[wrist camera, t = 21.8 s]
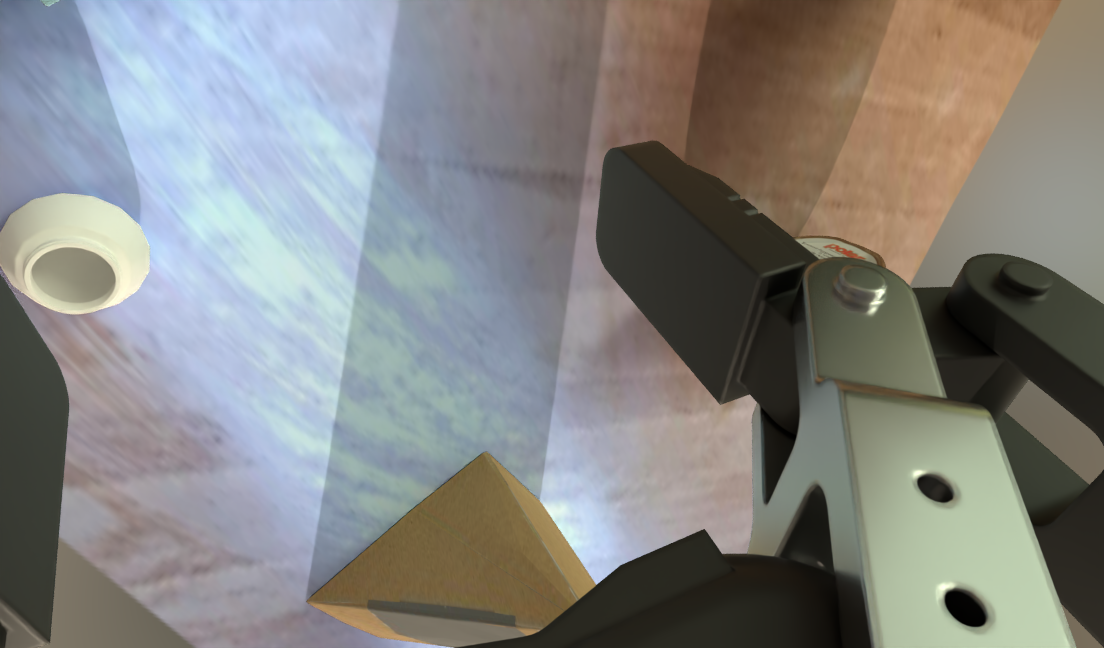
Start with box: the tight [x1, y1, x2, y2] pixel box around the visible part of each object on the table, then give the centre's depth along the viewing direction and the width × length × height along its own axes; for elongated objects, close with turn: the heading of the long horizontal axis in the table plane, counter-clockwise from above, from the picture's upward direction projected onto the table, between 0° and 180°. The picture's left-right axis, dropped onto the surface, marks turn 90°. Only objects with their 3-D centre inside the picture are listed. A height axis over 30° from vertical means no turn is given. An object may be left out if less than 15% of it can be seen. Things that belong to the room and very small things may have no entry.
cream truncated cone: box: [0, 193, 150, 314], centre depth 27 cm, size 5×3×5 cm
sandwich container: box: [306, 452, 596, 648], centre depth 41 cm, size 9×15×15 cm, turn 119°
